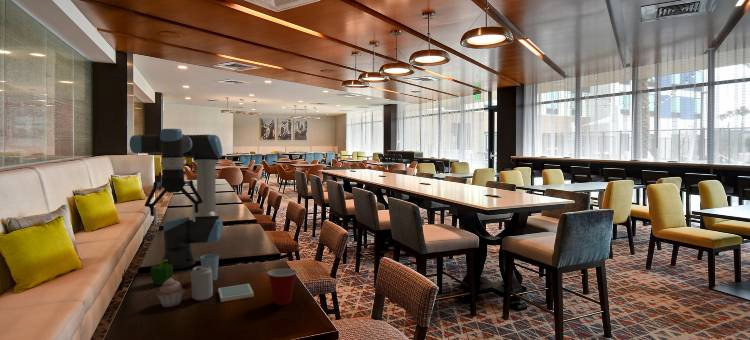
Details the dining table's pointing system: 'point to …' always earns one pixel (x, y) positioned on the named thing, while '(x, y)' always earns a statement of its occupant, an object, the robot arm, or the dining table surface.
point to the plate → (235, 292)
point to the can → (201, 283)
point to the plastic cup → (282, 285)
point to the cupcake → (170, 293)
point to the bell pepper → (161, 272)
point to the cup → (211, 263)
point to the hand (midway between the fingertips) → (175, 222)
